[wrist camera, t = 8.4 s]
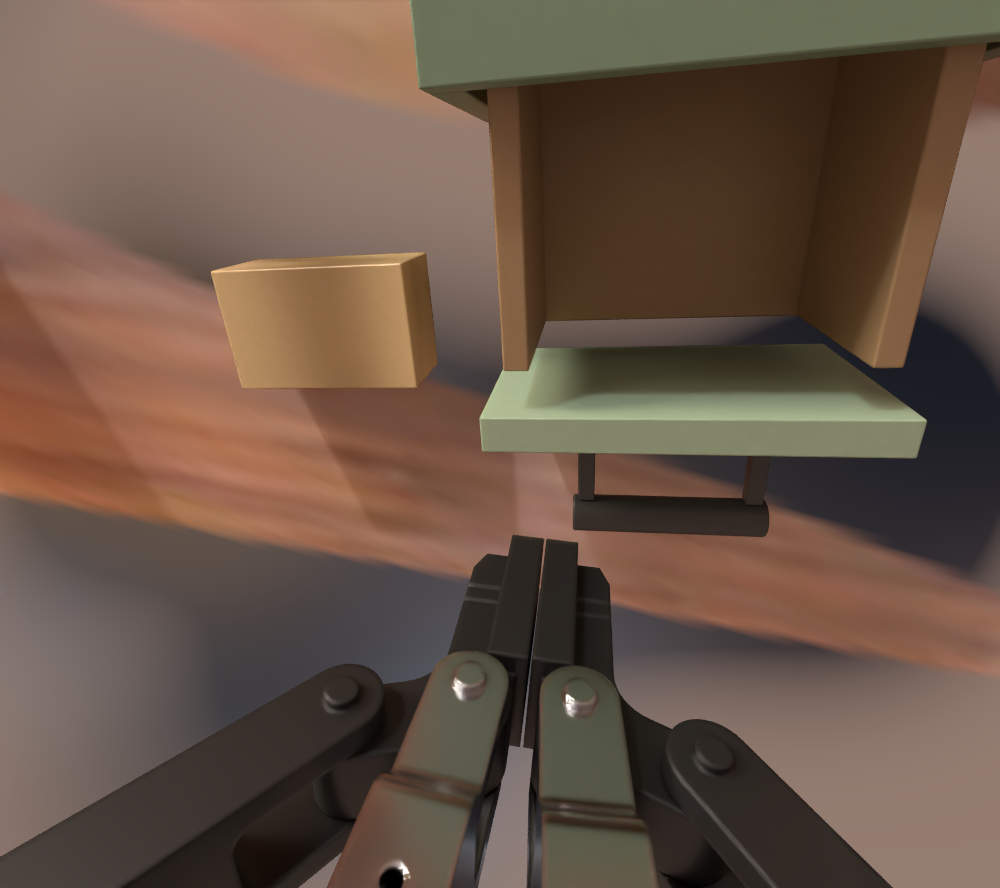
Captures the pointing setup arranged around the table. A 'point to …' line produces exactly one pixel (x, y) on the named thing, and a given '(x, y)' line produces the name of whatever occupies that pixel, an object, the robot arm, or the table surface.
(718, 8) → the cabinet
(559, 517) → the table surface
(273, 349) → the tan rectangular block
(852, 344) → the drawer
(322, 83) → the table surface
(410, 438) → the table surface
